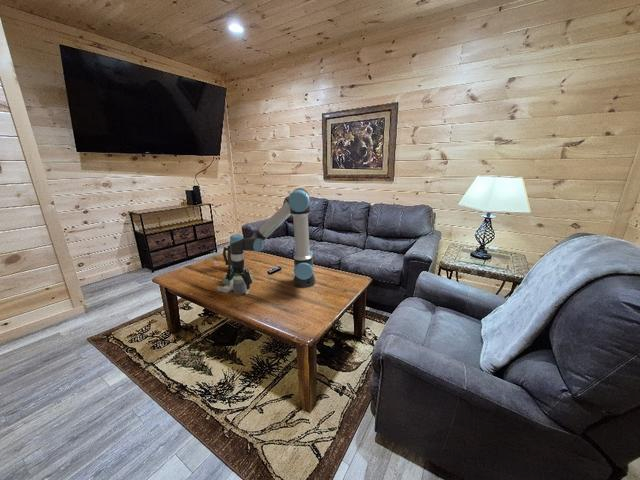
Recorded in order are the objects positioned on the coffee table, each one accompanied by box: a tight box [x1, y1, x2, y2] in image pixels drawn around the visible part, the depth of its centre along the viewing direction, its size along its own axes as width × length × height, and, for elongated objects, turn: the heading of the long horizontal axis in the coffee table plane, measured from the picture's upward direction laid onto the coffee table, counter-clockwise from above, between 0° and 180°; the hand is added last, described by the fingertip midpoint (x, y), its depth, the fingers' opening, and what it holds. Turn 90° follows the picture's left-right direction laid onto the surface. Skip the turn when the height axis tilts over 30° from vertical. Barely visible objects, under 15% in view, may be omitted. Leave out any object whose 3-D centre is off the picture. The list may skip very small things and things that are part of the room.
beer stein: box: [222, 244, 232, 267], centre depth 200 cm, size 15×11×20 cm
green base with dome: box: [216, 269, 254, 294], centre depth 176 cm, size 16×22×9 cm
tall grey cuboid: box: [232, 279, 246, 296], centre depth 167 cm, size 5×7×7 cm
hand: (239, 291), depth 168 cm, fingers open, 11 cm apart
